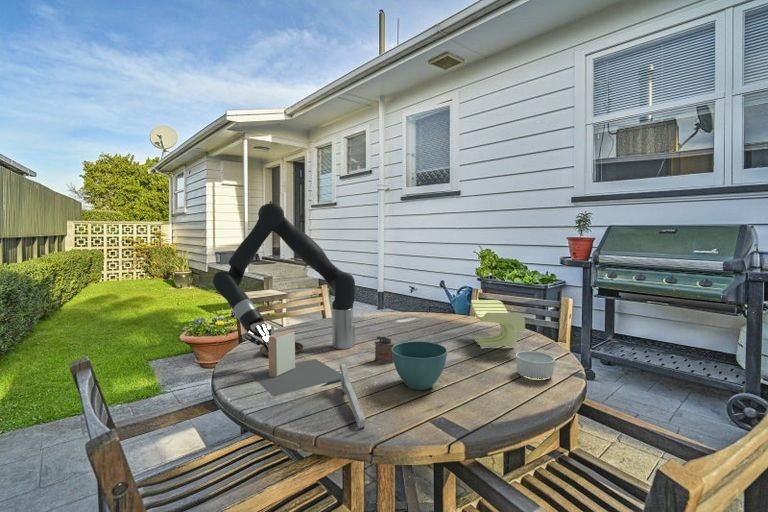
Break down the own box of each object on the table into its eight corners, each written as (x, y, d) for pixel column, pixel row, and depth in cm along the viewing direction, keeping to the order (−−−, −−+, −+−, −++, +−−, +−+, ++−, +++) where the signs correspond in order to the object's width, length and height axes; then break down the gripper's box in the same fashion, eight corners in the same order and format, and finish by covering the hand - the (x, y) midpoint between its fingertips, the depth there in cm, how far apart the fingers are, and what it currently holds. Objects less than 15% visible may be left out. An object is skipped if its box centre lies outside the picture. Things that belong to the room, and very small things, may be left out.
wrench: (358, 439, 100) (338, 383, 128) (365, 438, 100) (344, 382, 129) (359, 411, 98) (339, 360, 127) (366, 410, 99) (344, 360, 127)
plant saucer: (292, 362, 150) (292, 355, 150) (251, 359, 154) (251, 352, 154) (309, 349, 168) (309, 342, 168) (272, 346, 171) (272, 340, 171)
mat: (315, 361, 151) (315, 358, 151) (347, 380, 132) (347, 377, 132) (248, 375, 136) (248, 373, 136) (273, 399, 117) (273, 396, 117)
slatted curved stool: (524, 355, 159) (525, 312, 158) (485, 355, 160) (486, 312, 158) (503, 335, 189) (504, 300, 188) (470, 335, 190) (471, 299, 188)
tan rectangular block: (268, 375, 133) (268, 336, 133) (288, 366, 142) (288, 329, 141) (276, 377, 132) (275, 337, 131) (295, 368, 141) (295, 330, 140)
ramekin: (556, 385, 128) (556, 364, 128) (514, 379, 133) (514, 359, 133) (553, 371, 141) (553, 353, 140) (515, 367, 145) (515, 349, 145)
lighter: (395, 361, 152) (395, 336, 151) (391, 363, 149) (392, 338, 148) (377, 358, 155) (377, 334, 154) (373, 361, 152) (373, 336, 151)
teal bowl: (432, 401, 115) (432, 361, 115) (381, 388, 125) (381, 351, 124) (454, 381, 131) (455, 346, 130) (407, 371, 140) (408, 338, 140)
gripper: (238, 311, 137) (264, 350, 132) (266, 305, 148) (290, 340, 143) (228, 324, 139) (253, 362, 134) (256, 317, 151) (280, 352, 146)
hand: (272, 351), depth 139 cm, fingers closed
